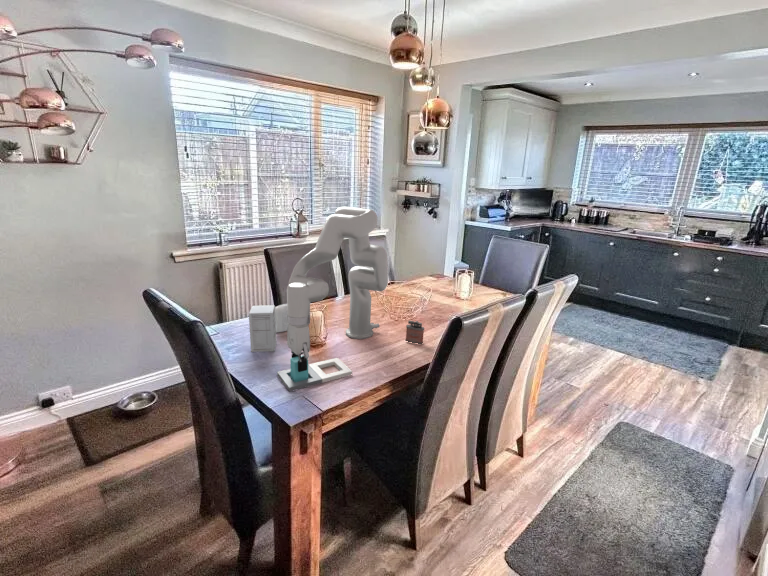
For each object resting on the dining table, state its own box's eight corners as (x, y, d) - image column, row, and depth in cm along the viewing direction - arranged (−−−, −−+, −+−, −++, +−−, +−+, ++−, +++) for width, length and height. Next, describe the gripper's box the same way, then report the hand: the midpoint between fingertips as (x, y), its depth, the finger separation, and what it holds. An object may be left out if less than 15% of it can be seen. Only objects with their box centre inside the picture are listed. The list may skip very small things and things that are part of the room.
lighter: (423, 342, 176) (425, 321, 173) (422, 345, 173) (423, 324, 170) (406, 339, 178) (407, 318, 175) (404, 342, 175) (405, 321, 172)
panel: (337, 361, 155) (337, 357, 155) (352, 374, 146) (352, 371, 145) (277, 375, 142) (277, 371, 142) (289, 391, 133) (289, 387, 132)
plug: (303, 375, 144) (303, 355, 141) (308, 380, 140) (308, 359, 138) (290, 378, 141) (290, 358, 139) (294, 383, 138) (294, 362, 135)
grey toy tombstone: (294, 326, 186) (294, 301, 182) (298, 329, 182) (297, 304, 179) (273, 330, 180) (272, 304, 177) (276, 333, 177) (275, 307, 173)
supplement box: (276, 342, 169) (275, 304, 164) (275, 351, 160) (273, 312, 155) (253, 342, 167) (251, 304, 162) (250, 352, 158) (248, 312, 153)
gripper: (279, 312, 139) (280, 359, 144) (297, 329, 125) (298, 380, 131) (299, 309, 143) (300, 355, 148) (319, 325, 129) (319, 375, 135)
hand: (299, 366), depth 139 cm, fingers open, 5 cm apart
